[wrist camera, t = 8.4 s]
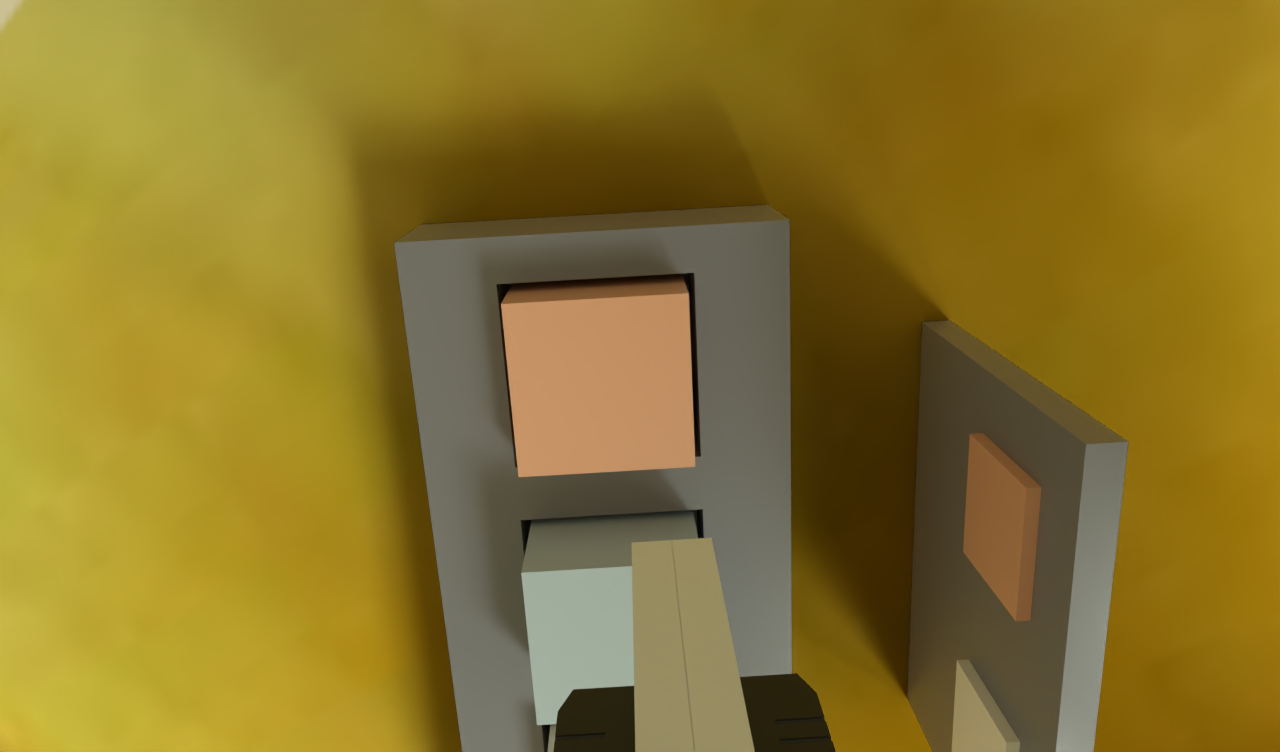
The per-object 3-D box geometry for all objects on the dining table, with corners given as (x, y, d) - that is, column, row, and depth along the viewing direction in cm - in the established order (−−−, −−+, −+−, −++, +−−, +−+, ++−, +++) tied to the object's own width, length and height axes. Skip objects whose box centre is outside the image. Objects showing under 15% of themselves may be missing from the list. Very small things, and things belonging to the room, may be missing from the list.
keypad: (927, 786, 39) (1056, 1075, 27) (494, 813, 39) (443, 1114, 27) (956, 193, 32) (1150, 251, 20) (421, 224, 31) (308, 300, 20)
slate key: (697, 642, 33) (708, 714, 29) (545, 652, 33) (537, 725, 29) (692, 505, 31) (702, 561, 28) (532, 514, 31) (521, 573, 28)
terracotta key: (685, 422, 32) (695, 466, 28) (530, 431, 32) (518, 477, 28) (679, 268, 31) (688, 293, 27) (515, 277, 30) (501, 304, 27)
